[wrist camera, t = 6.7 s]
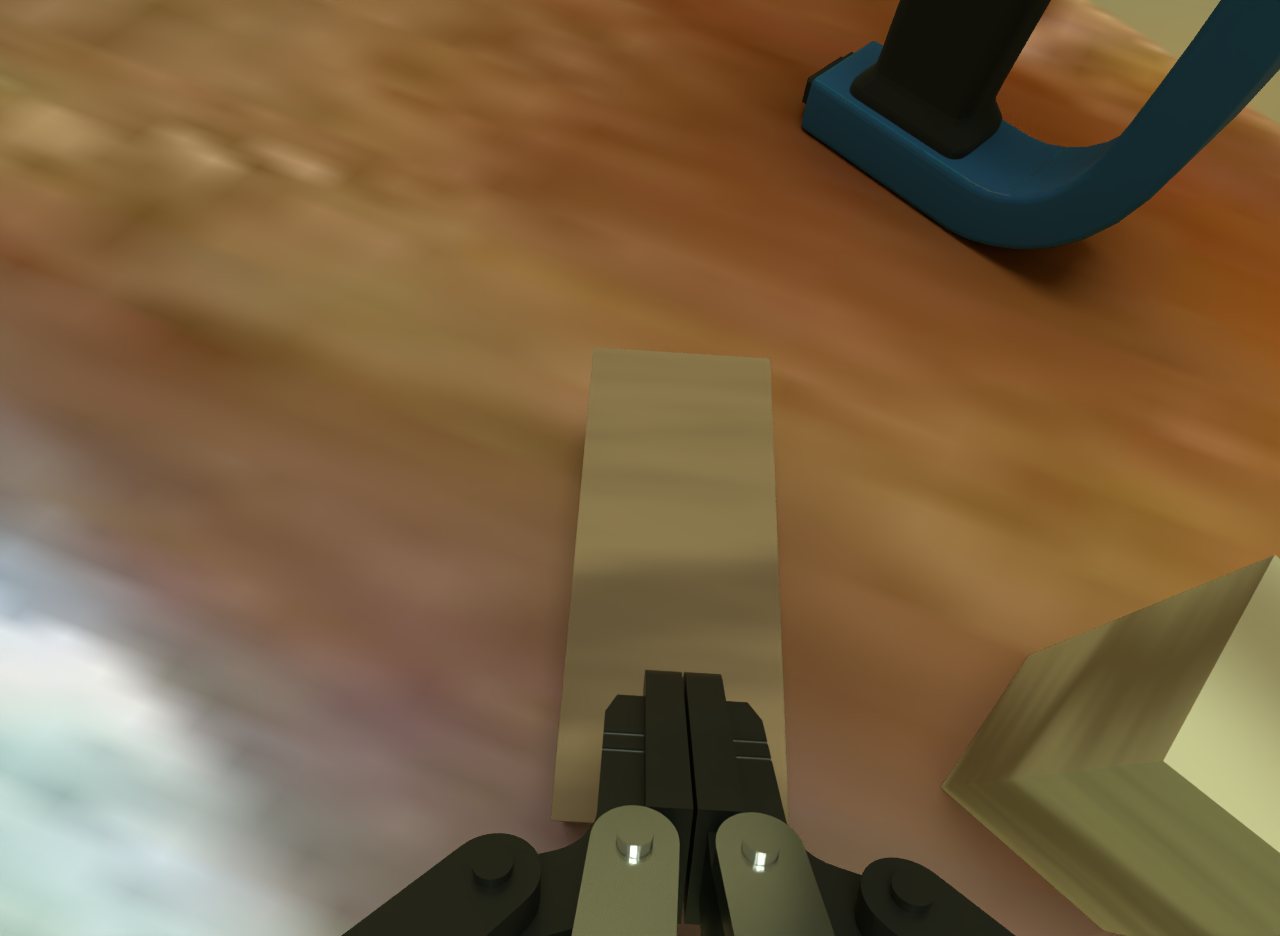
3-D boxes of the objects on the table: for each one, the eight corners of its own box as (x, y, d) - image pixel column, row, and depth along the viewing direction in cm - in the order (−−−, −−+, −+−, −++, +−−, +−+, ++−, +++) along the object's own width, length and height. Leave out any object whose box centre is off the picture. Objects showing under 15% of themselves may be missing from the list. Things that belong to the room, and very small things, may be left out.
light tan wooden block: (789, 832, 15) (770, 358, 21) (550, 820, 15) (593, 347, 20) (747, 831, 20) (740, 442, 25) (562, 821, 20) (595, 433, 25)
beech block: (1103, 930, 19) (1476, 1008, 11) (940, 787, 20) (1163, 761, 12) (1184, 777, 21) (1557, 745, 12) (1028, 655, 22) (1274, 554, 14)
